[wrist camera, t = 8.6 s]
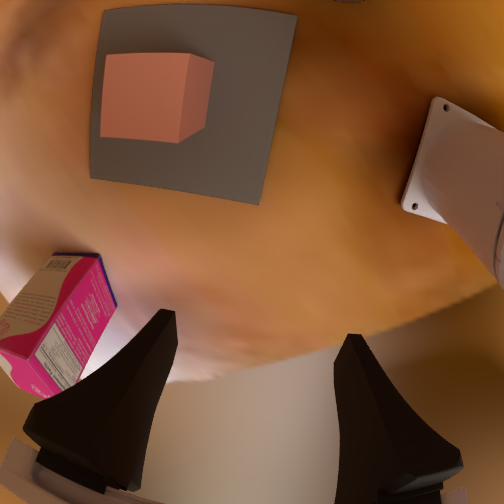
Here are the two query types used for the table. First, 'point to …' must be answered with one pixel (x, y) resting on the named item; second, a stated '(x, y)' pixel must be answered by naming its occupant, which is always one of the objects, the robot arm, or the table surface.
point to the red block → (155, 96)
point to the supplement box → (56, 323)
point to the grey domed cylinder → (349, 1)
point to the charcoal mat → (219, 105)
